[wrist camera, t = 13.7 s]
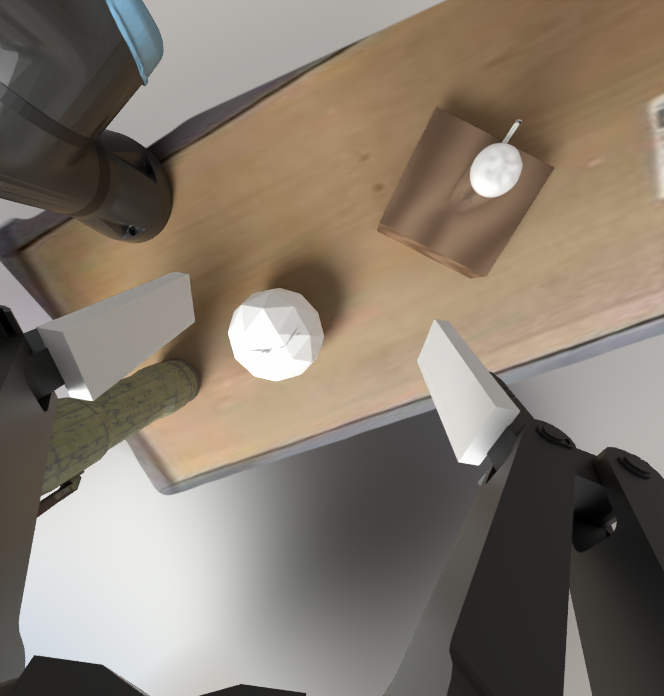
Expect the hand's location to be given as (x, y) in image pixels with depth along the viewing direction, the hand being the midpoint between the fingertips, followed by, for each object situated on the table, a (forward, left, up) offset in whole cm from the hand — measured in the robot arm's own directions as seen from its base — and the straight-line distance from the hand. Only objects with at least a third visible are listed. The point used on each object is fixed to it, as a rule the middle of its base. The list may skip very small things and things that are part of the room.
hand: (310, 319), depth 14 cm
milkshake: (+8, +19, -23) cm, 31 cm away
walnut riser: (+8, +19, -28) cm, 35 cm away
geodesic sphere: (-6, -8, -28) cm, 30 cm away
